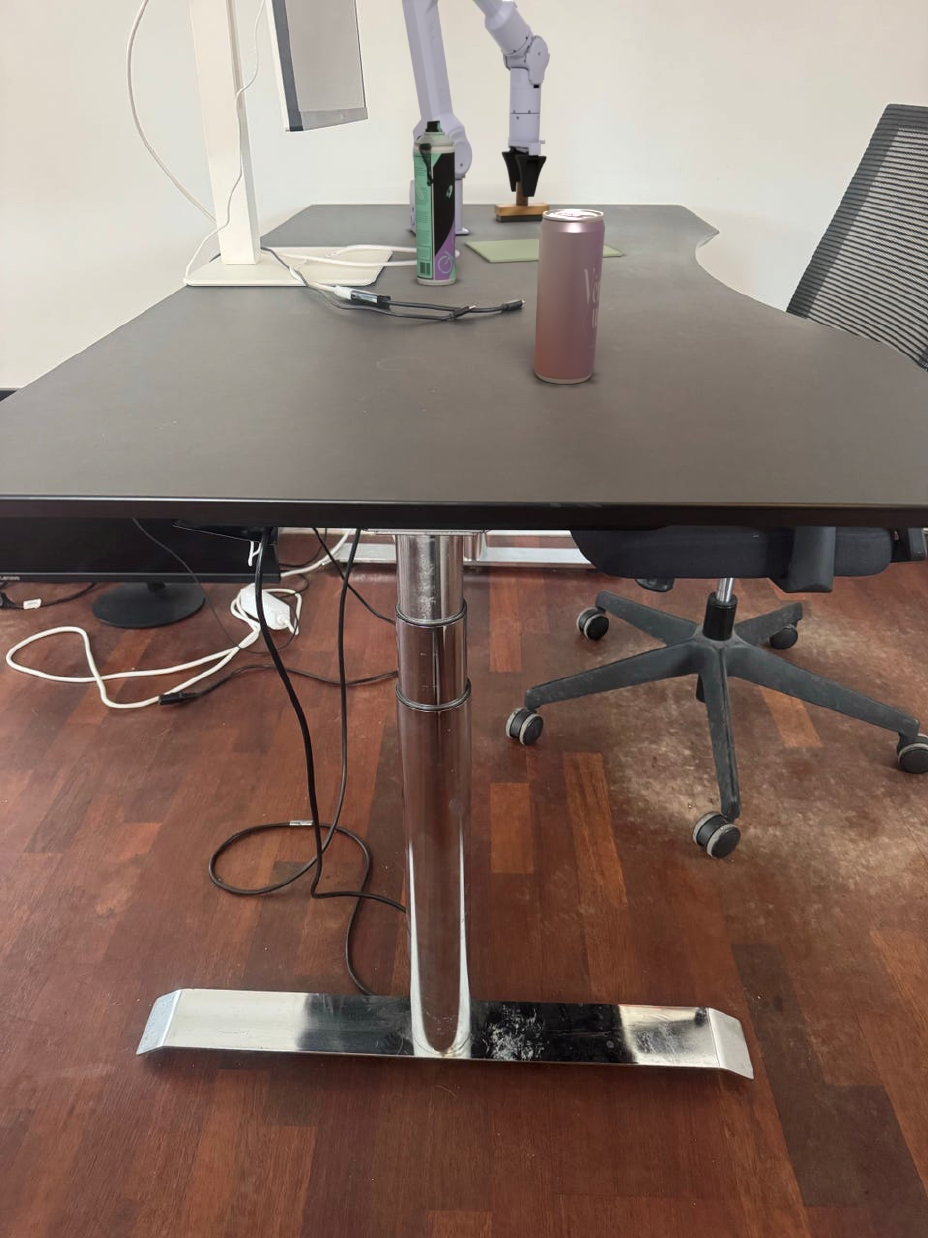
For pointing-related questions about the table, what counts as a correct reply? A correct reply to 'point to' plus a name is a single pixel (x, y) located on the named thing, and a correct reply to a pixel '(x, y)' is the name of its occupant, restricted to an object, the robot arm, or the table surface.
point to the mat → (517, 250)
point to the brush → (520, 209)
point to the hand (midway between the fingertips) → (522, 193)
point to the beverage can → (568, 294)
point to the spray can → (435, 206)
